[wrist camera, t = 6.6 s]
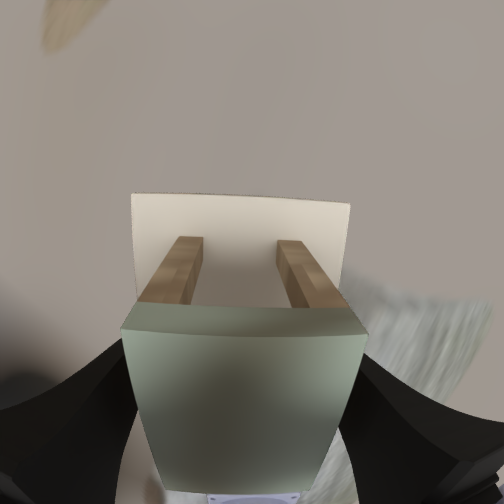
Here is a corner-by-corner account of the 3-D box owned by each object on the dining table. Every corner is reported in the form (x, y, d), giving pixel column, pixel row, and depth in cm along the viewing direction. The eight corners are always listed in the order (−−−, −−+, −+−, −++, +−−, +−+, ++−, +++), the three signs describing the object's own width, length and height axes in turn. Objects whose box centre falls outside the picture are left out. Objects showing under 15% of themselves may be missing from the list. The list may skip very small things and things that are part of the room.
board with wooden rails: (301, 240, 12) (368, 334, 6) (284, 373, 14) (309, 490, 8) (178, 235, 12) (119, 329, 5) (185, 371, 14) (165, 489, 8)
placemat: (311, 397, 16) (312, 401, 15) (154, 392, 15) (152, 397, 15) (347, 202, 12) (350, 203, 12) (134, 192, 12) (131, 193, 11)
